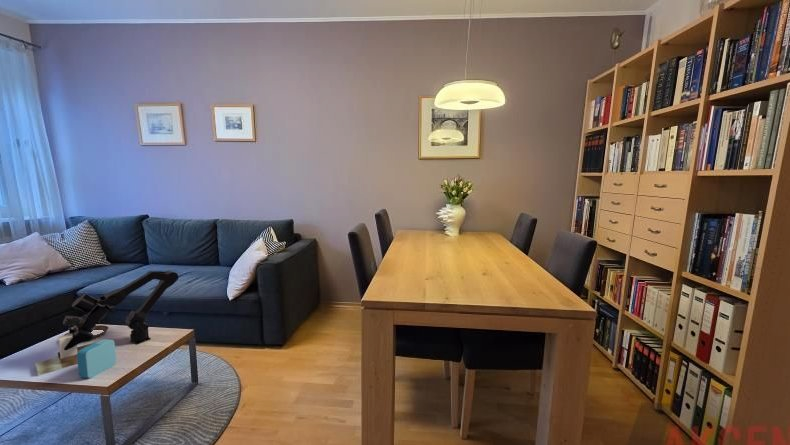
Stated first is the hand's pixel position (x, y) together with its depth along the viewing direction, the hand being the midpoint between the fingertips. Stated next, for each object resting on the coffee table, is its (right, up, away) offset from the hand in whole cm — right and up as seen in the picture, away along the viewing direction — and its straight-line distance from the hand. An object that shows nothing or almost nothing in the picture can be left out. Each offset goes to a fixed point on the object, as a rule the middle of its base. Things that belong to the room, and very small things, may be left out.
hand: (63, 348), depth 144 cm
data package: (+20, -8, -5) cm, 22 cm away
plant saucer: (-14, -5, +26) cm, 30 cm away
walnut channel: (+2, -7, +3) cm, 8 cm away
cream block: (+1, -5, +2) cm, 5 cm away
